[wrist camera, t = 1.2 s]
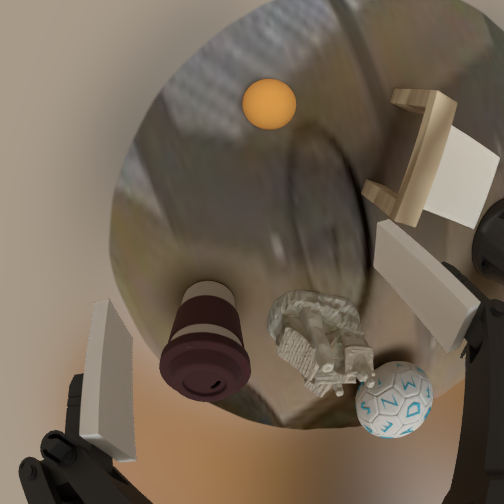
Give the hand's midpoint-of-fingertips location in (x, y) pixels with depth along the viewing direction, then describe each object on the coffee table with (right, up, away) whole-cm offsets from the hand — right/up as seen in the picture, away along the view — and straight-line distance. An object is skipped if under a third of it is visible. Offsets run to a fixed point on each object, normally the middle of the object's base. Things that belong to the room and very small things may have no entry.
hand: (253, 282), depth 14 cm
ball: (+2, +16, +15) cm, 22 cm away
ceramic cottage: (+9, -11, +34) cm, 37 cm away
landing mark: (+31, +12, +23) cm, 41 cm away
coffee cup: (-6, -5, +29) cm, 30 cm away
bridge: (+17, +15, +20) cm, 30 cm away
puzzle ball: (+26, -22, +41) cm, 53 cm away
